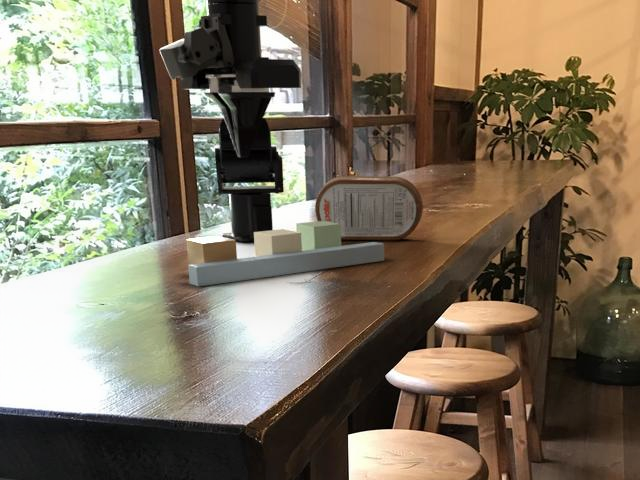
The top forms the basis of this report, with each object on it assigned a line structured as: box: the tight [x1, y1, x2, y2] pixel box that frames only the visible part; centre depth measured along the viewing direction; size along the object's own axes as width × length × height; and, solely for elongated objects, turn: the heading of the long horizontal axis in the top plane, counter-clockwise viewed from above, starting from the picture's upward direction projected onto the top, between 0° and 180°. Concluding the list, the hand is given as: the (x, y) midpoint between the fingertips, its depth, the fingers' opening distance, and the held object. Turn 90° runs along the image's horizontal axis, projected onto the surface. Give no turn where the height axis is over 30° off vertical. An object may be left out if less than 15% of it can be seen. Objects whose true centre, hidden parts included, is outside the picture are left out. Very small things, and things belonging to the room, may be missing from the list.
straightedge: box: [187, 241, 385, 288], centre depth 92 cm, size 2×25×2 cm, turn 127°
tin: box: [314, 175, 424, 241], centre depth 112 cm, size 15×3×8 cm, turn 84°
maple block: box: [185, 235, 238, 265], centre depth 89 cm, size 4×4×4 cm
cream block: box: [253, 228, 302, 257], centre depth 94 cm, size 4×4×4 cm
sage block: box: [295, 220, 342, 251], centre depth 101 cm, size 4×4×4 cm
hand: (243, 157), depth 96 cm, fingers closed
